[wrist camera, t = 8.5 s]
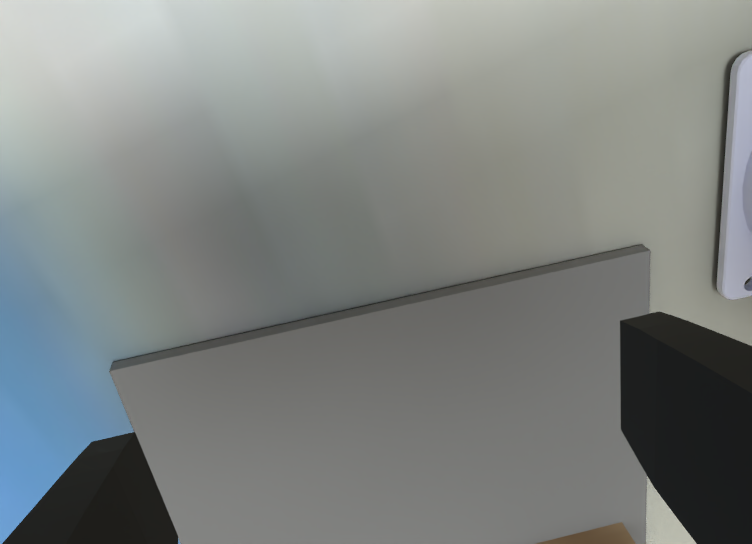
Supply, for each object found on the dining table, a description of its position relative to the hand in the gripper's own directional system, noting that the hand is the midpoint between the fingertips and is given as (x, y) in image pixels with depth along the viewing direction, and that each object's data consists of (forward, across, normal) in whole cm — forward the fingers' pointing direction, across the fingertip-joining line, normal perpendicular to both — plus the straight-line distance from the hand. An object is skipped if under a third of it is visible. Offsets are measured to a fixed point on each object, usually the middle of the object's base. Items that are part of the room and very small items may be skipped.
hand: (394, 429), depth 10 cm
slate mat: (+10, -1, +13) cm, 17 cm away
